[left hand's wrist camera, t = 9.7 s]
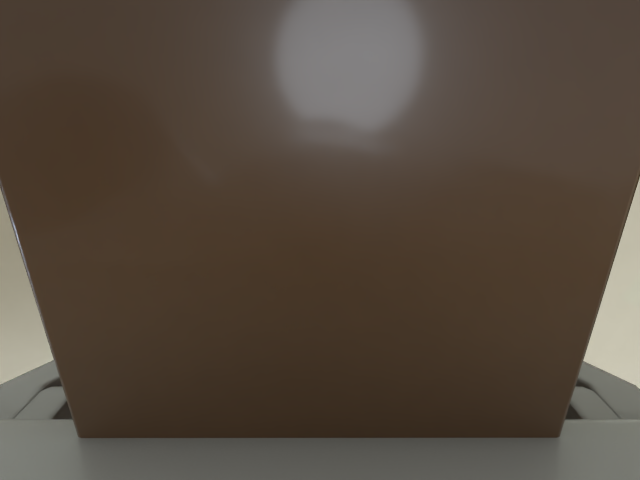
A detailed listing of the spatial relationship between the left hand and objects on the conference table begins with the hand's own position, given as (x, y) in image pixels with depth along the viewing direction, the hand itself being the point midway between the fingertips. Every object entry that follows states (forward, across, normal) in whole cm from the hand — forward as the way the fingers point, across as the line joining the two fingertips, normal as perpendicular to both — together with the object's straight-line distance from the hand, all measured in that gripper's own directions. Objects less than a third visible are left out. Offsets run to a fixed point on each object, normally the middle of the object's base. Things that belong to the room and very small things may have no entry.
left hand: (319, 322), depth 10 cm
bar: (+4, 0, +8) cm, 9 cm away
